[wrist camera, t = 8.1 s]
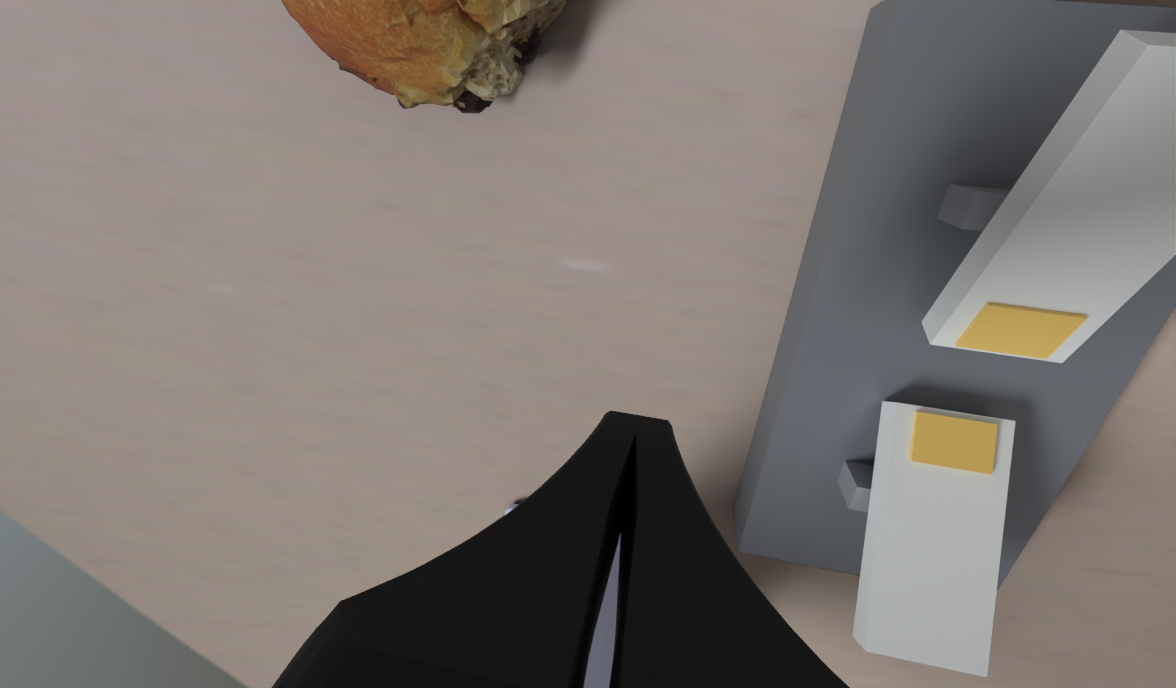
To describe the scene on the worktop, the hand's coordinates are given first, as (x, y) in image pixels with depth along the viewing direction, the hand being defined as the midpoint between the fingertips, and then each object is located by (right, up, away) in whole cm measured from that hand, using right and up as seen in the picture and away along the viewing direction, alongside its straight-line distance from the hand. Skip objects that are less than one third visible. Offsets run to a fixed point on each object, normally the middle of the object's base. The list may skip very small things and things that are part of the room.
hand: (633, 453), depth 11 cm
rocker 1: (+10, -4, +6) cm, 12 cm away
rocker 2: (+11, +5, +1) cm, 12 cm away
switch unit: (+12, +3, +8) cm, 14 cm away
